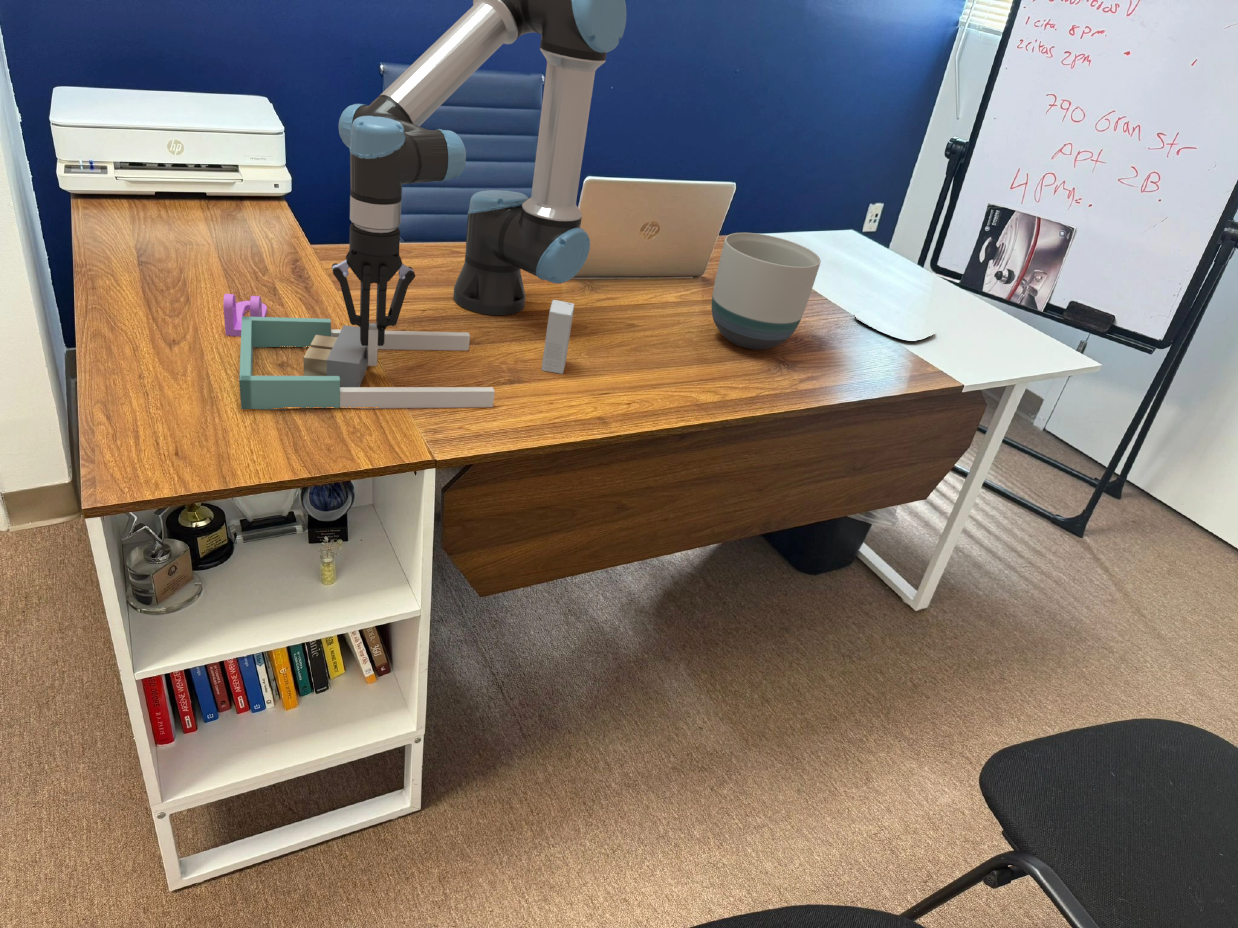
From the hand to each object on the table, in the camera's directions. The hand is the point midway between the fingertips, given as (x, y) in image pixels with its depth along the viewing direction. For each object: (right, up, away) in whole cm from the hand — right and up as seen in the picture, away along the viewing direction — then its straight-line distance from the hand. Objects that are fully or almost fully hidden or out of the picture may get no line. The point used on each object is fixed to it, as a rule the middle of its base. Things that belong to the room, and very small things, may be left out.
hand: (371, 362), depth 143 cm
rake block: (-4, -1, +2) cm, 5 cm away
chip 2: (-8, -3, -2) cm, 9 cm away
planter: (+70, +9, +44) cm, 83 cm away
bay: (-12, -3, -3) cm, 13 cm away
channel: (+6, -2, +4) cm, 7 cm away
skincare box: (+29, +1, +17) cm, 34 cm away
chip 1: (-9, 0, +2) cm, 9 cm away
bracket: (-25, +8, +10) cm, 29 cm away
